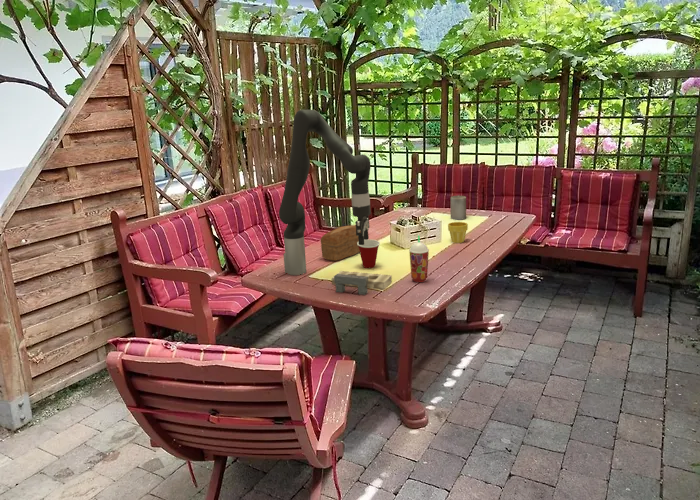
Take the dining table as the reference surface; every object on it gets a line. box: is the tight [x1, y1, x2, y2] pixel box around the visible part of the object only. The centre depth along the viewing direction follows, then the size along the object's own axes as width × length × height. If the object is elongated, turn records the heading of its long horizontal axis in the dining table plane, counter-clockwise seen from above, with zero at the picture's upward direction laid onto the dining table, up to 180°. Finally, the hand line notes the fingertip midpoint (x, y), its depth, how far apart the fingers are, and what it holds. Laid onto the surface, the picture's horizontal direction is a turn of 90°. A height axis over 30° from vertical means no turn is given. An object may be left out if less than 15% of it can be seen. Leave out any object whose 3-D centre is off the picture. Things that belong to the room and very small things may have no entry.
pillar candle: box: [450, 194, 467, 221], centre depth 357 cm, size 10×10×15 cm
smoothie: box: [409, 235, 430, 283], centre depth 245 cm, size 8×8×20 cm
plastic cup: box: [357, 238, 381, 269], centre depth 268 cm, size 11×11×12 cm
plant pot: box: [447, 221, 469, 244], centre depth 305 cm, size 10×10×10 cm
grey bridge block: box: [333, 273, 368, 296], centre depth 236 cm, size 14×3×7 cm, turn 68°
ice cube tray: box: [331, 270, 393, 290], centre depth 247 cm, size 24×10×3 cm, turn 68°
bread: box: [320, 224, 361, 262], centre depth 289 cm, size 12×28×14 cm, turn 140°
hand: (363, 242), depth 239 cm, fingers open, 8 cm apart
